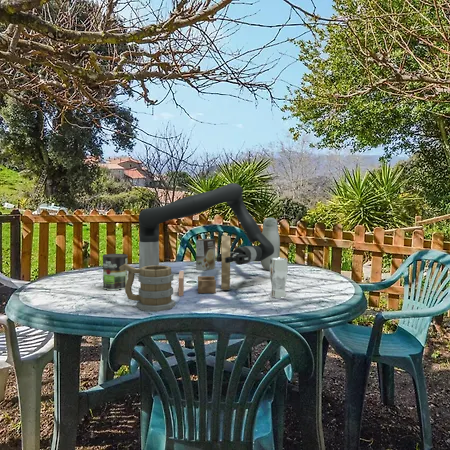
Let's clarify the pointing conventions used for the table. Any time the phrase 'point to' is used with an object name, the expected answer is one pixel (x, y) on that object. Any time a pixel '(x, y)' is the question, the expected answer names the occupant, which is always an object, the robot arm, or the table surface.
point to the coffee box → (205, 254)
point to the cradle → (206, 284)
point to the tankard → (151, 287)
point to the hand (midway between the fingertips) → (222, 259)
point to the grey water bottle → (271, 240)
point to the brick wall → (181, 283)
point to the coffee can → (114, 271)
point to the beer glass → (278, 276)
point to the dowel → (225, 266)
